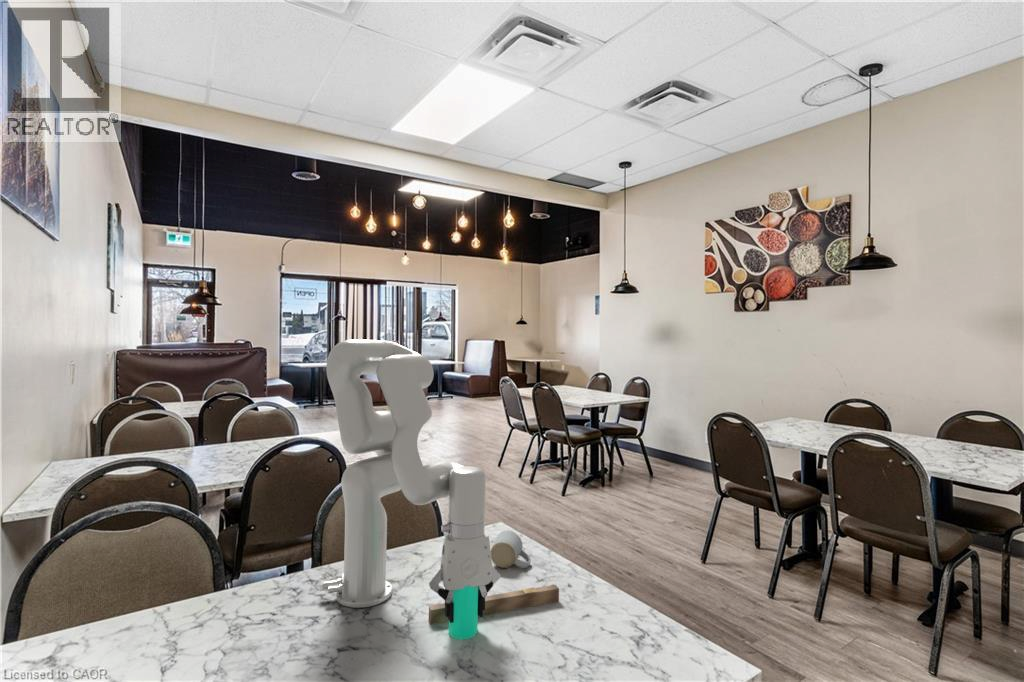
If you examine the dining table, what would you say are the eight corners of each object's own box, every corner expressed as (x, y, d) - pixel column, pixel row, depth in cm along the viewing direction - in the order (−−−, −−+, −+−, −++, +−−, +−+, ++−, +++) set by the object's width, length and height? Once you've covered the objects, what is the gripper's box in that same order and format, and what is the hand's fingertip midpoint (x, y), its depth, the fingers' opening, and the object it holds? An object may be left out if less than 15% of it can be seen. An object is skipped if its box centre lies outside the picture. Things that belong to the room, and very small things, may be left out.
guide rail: (430, 624, 105) (430, 609, 105) (428, 619, 107) (429, 604, 107) (558, 601, 115) (559, 587, 116) (555, 597, 117) (555, 583, 117)
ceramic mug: (488, 568, 132) (489, 539, 133) (495, 555, 141) (496, 528, 141) (527, 573, 130) (528, 543, 130) (532, 560, 138) (533, 532, 138)
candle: (473, 641, 99) (474, 580, 99) (444, 637, 100) (445, 577, 100) (481, 625, 105) (482, 567, 105) (454, 621, 106) (455, 564, 106)
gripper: (429, 539, 96) (427, 634, 96) (511, 529, 103) (510, 618, 102) (421, 526, 104) (419, 615, 103) (499, 518, 110) (497, 601, 109)
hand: (464, 615), depth 103 cm, fingers closed on candle, 5 cm apart
